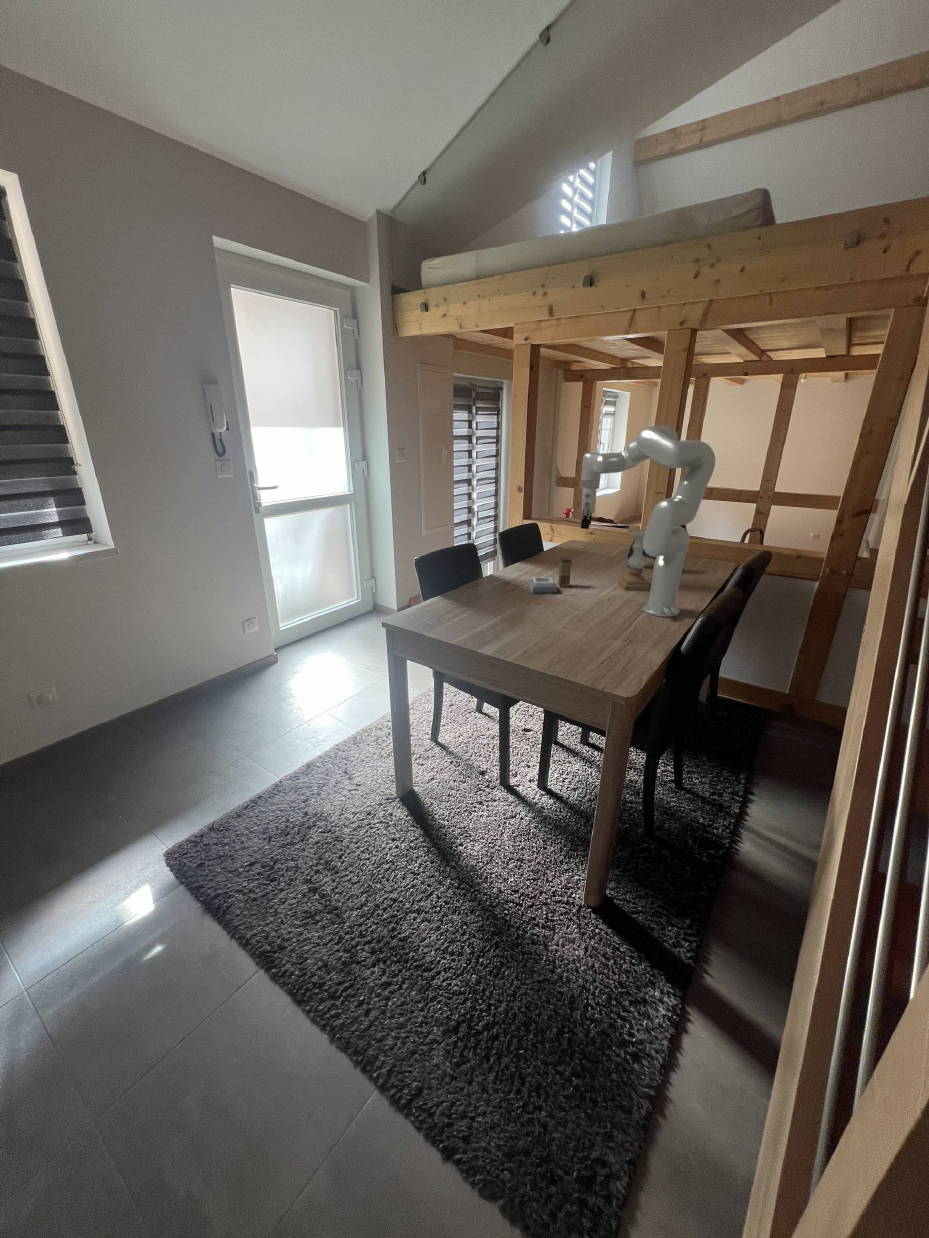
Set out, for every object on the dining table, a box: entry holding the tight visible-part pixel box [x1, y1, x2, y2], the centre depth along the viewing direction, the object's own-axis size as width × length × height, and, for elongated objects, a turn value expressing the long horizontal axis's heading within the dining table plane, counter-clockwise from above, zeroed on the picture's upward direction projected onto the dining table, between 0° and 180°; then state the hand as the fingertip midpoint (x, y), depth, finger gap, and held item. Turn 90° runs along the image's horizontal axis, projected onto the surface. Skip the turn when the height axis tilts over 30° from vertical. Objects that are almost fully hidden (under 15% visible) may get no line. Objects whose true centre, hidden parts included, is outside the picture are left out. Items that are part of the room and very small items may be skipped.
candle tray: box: [528, 576, 558, 595], centre depth 207 cm, size 10×10×4 cm
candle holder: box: [617, 528, 651, 591], centre depth 207 cm, size 11×11×24 cm
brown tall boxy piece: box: [557, 557, 572, 589], centre depth 210 cm, size 4×4×12 cm
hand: (585, 526), depth 207 cm, fingers open, 9 cm apart
